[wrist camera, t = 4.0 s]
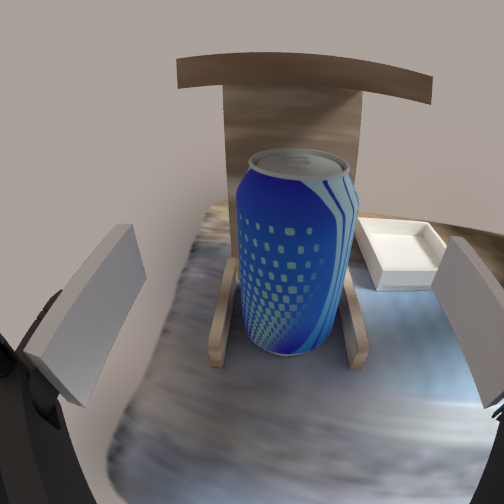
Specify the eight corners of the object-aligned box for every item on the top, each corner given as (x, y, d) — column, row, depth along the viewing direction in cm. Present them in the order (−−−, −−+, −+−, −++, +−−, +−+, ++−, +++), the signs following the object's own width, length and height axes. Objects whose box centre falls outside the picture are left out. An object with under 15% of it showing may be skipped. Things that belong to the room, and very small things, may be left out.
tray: (423, 238, 39) (428, 222, 38) (456, 289, 29) (464, 270, 28) (354, 235, 40) (357, 217, 39) (376, 291, 30) (382, 270, 29)
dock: (230, 270, 34) (219, 68, 21) (339, 273, 33) (363, 74, 20) (211, 366, 23) (165, 60, 10) (360, 368, 22) (440, 79, 9)
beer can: (345, 322, 27) (381, 163, 18) (295, 379, 22) (323, 195, 13) (280, 286, 32) (286, 140, 22) (224, 329, 27) (207, 162, 17)
